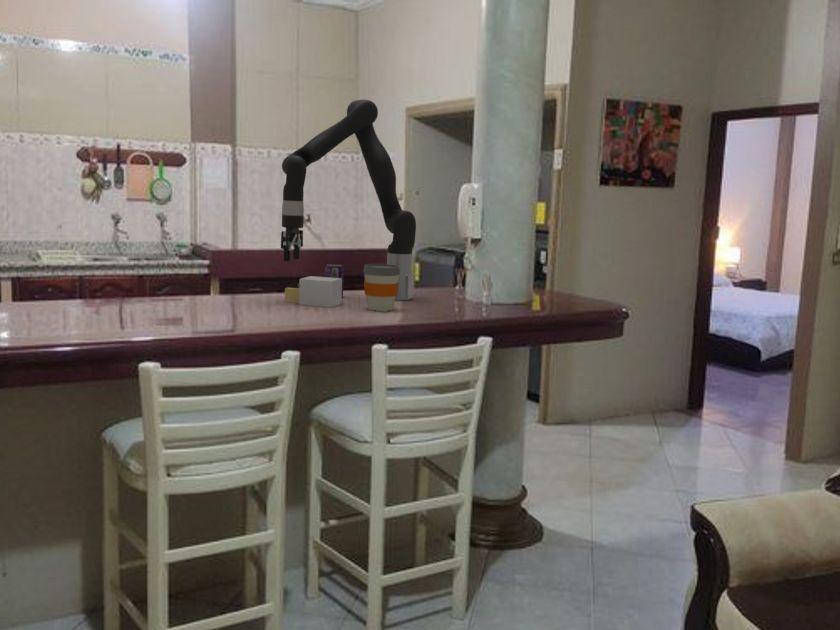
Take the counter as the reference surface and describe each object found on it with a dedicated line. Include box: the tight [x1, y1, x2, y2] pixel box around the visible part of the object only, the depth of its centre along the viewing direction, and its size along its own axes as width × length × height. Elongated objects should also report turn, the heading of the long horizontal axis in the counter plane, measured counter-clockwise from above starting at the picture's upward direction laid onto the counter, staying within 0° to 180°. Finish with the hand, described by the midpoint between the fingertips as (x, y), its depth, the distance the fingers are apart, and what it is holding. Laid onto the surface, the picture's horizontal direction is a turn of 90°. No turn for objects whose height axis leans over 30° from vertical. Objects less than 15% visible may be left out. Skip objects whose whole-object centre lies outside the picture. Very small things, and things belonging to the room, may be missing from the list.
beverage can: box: [324, 263, 345, 297], centre depth 296 cm, size 7×7×12 cm
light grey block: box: [297, 275, 343, 308], centre depth 277 cm, size 13×10×9 cm
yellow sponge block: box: [284, 287, 299, 304], centre depth 279 cm, size 10×2×5 cm, turn 76°
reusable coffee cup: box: [362, 263, 400, 312], centre depth 272 cm, size 13×13×15 cm
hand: (291, 260), depth 278 cm, fingers open, 8 cm apart
